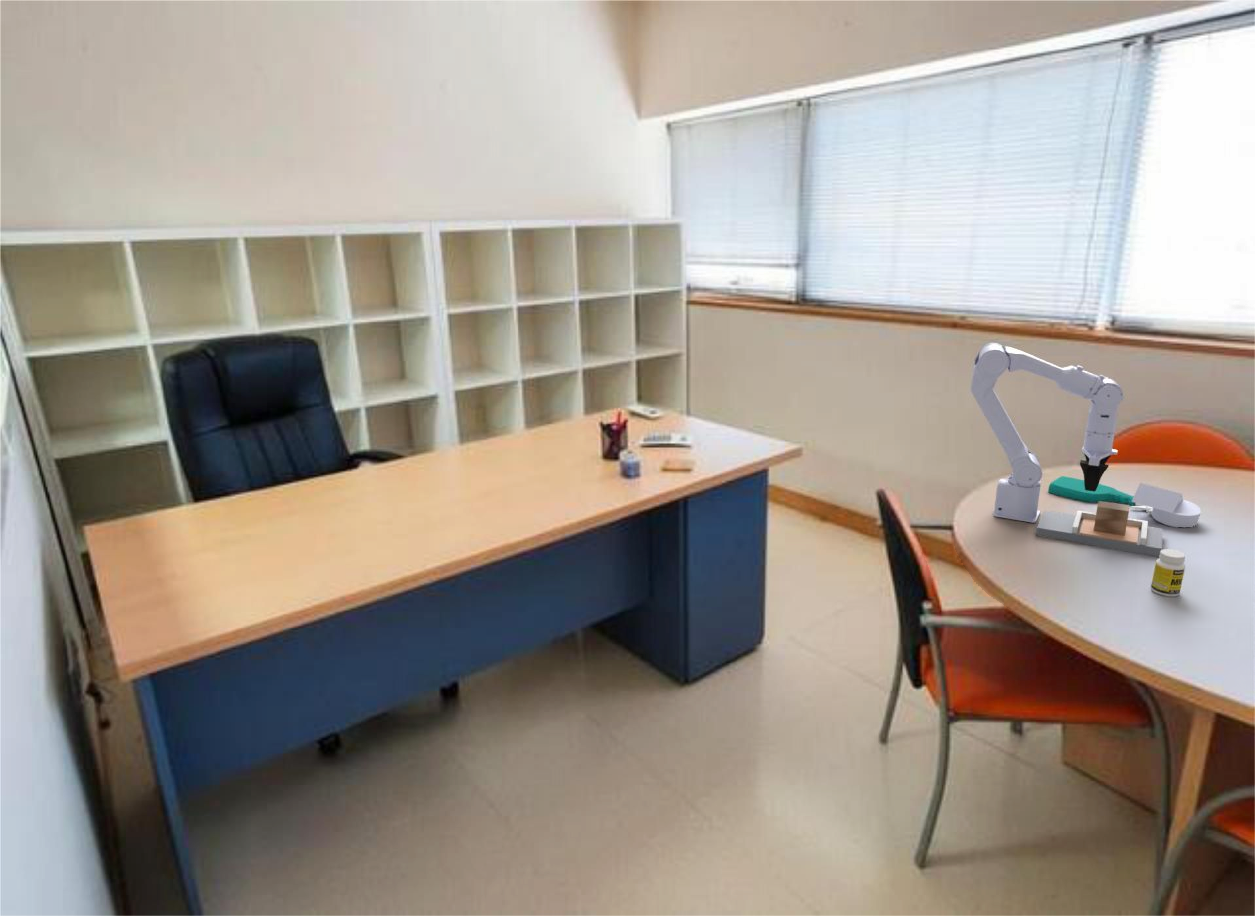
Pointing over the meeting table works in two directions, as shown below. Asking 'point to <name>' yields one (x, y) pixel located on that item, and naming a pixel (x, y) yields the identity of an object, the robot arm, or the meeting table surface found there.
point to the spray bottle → (1092, 493)
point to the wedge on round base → (1167, 506)
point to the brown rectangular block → (1111, 518)
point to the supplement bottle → (1168, 573)
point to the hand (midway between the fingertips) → (1091, 485)
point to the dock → (1082, 531)
